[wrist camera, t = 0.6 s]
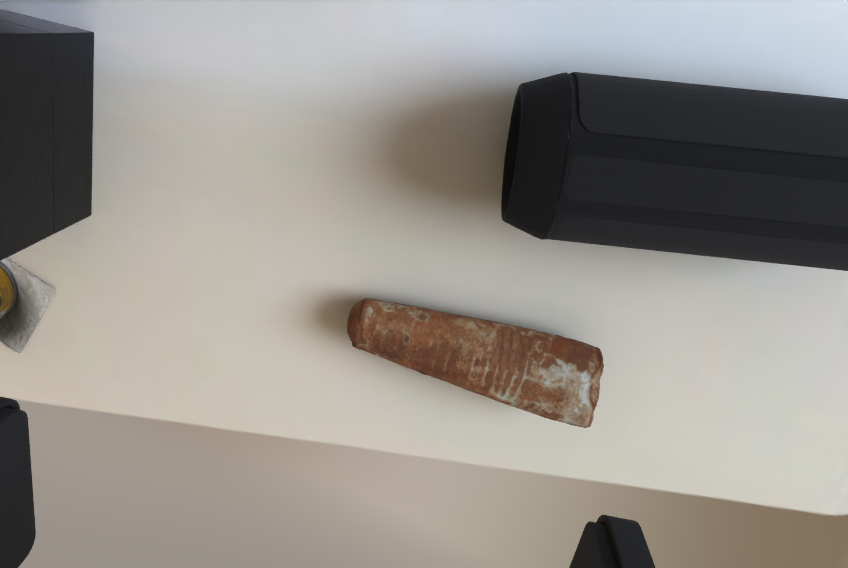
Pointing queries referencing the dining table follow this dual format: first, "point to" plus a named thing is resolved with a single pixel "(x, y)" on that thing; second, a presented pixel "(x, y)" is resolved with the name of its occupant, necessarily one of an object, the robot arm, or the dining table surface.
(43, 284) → the condiment
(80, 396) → the dining table surface
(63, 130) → the toaster
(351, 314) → the reddish-brown tapered rod
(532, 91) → the portable speaker
